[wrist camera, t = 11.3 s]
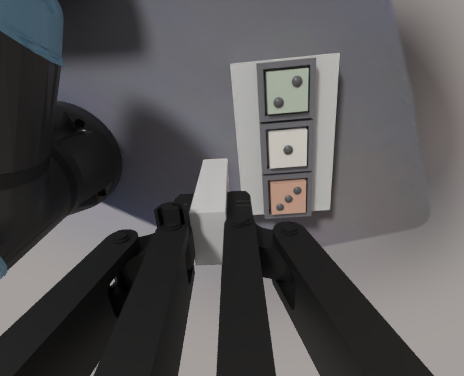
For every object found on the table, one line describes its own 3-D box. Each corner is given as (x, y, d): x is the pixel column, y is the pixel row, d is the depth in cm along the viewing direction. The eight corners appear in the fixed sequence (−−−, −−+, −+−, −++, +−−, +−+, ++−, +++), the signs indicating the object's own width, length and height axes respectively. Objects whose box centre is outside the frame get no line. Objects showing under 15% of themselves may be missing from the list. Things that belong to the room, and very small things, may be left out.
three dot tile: (270, 207, 38) (271, 215, 36) (269, 178, 37) (270, 184, 35) (302, 205, 38) (305, 213, 36) (302, 175, 36) (306, 182, 34)
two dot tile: (266, 111, 33) (268, 114, 31) (264, 71, 31) (266, 72, 29) (303, 108, 33) (308, 111, 31) (304, 67, 31) (309, 68, 29)
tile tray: (243, 205, 42) (243, 221, 38) (230, 63, 34) (229, 64, 30) (323, 199, 41) (333, 215, 37) (331, 53, 33) (344, 52, 29)
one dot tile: (268, 163, 36) (270, 169, 34) (267, 128, 34) (268, 133, 32) (303, 160, 35) (306, 166, 33) (303, 125, 34) (307, 129, 32)
